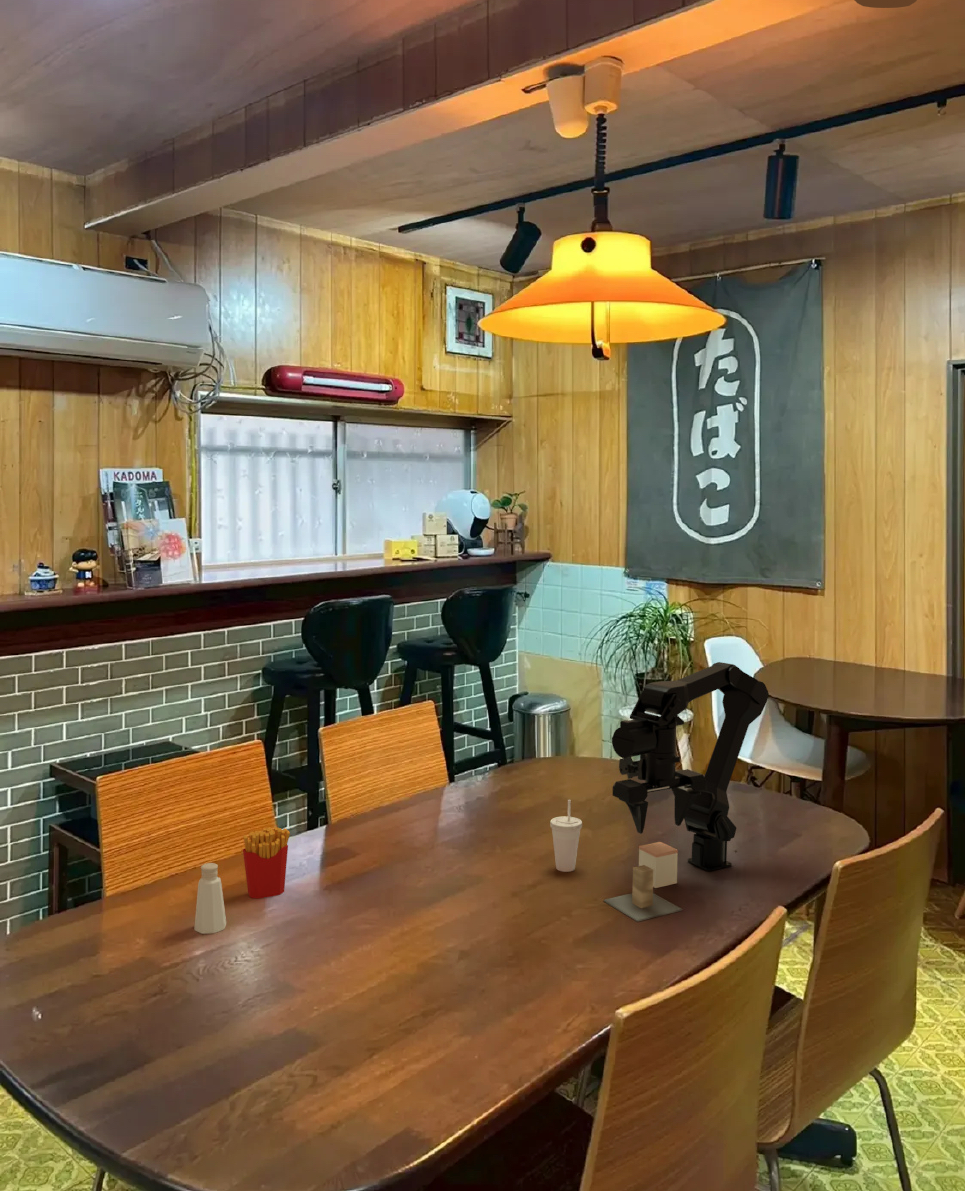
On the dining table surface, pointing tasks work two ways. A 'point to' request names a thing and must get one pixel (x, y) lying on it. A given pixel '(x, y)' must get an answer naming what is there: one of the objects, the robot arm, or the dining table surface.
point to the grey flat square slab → (642, 898)
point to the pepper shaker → (209, 902)
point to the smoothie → (566, 840)
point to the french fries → (266, 861)
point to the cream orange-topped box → (660, 862)
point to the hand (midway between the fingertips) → (659, 829)
